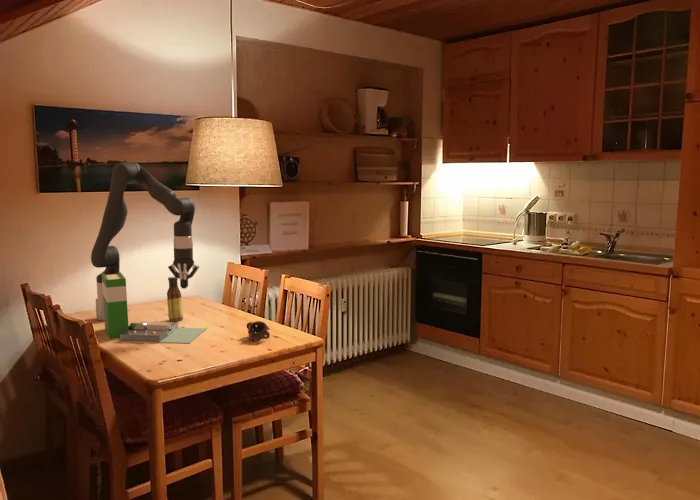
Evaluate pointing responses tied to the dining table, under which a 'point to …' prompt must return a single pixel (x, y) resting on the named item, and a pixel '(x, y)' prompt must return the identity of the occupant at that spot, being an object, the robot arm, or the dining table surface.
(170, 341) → the mat
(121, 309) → the hardback book
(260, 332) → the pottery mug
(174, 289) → the sauce bottle
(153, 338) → the grey stepped block
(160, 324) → the pale grey flat block
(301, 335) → the dining table surface
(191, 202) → the robot arm
